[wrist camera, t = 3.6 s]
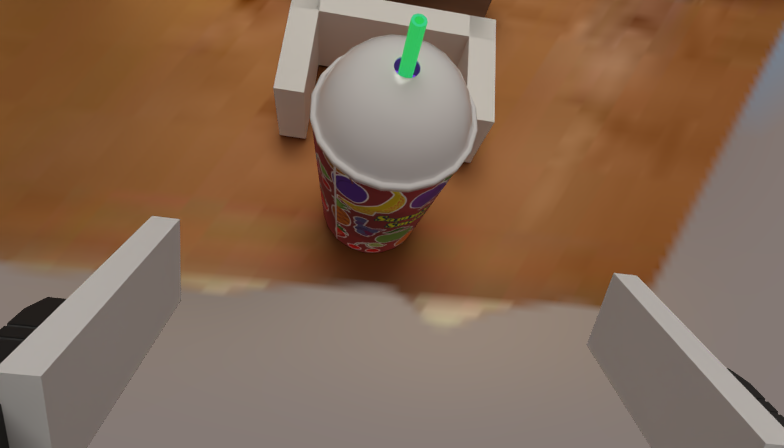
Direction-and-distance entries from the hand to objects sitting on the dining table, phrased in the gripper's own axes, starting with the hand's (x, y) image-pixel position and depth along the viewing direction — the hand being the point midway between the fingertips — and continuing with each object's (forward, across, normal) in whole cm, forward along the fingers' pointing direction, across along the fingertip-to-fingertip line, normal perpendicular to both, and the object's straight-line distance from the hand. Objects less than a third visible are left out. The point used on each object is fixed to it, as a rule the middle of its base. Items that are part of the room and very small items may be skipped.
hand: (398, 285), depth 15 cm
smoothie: (+22, 0, -7) cm, 23 cm away
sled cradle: (+28, 0, 0) cm, 29 cm away
